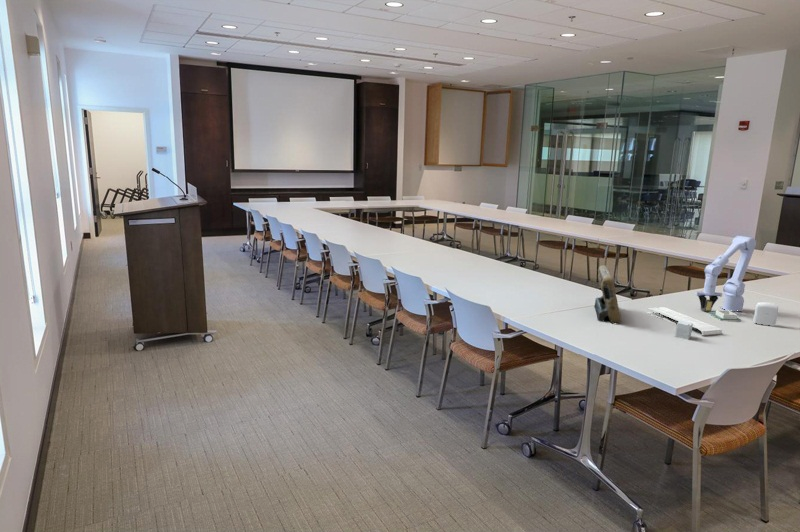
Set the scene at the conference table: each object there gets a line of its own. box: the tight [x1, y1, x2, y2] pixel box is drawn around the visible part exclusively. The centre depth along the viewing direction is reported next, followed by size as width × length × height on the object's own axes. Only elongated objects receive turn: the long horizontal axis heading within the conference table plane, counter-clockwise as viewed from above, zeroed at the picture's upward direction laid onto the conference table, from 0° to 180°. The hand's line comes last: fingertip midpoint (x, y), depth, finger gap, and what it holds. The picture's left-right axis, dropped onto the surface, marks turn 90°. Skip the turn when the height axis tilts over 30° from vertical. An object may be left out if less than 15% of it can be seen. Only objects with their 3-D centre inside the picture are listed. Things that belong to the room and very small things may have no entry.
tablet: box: [593, 264, 622, 325], centre depth 287 cm, size 33×14×25 cm, turn 169°
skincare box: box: [674, 320, 694, 341], centre depth 258 cm, size 6×6×7 cm
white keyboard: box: [645, 306, 723, 337], centre depth 280 cm, size 12×4×40 cm
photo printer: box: [752, 301, 779, 327], centre depth 282 cm, size 10×4×12 cm, turn 66°
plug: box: [700, 298, 713, 312], centre depth 303 cm, size 4×4×6 cm
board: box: [708, 309, 742, 321], centre depth 293 cm, size 11×12×4 cm
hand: (706, 307), depth 304 cm, fingers closed on plug, 4 cm apart
